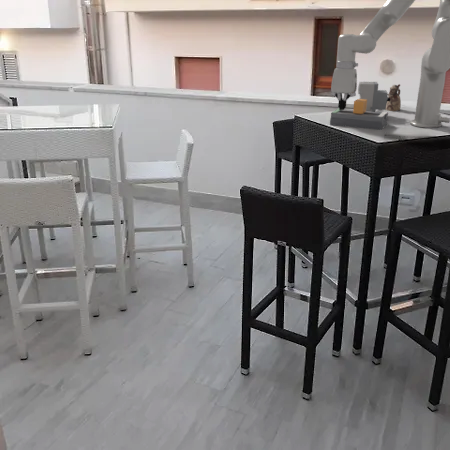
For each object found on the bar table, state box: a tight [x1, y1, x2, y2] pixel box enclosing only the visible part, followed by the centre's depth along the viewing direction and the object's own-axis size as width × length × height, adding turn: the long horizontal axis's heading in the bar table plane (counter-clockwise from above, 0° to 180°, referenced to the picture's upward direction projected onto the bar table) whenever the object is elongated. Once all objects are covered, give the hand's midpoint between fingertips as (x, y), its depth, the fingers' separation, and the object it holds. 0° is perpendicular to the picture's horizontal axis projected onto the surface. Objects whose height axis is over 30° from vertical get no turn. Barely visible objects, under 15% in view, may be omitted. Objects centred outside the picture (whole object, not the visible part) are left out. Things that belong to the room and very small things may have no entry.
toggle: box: [352, 98, 367, 114], centre depth 210 cm, size 4×6×7 cm, turn 151°
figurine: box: [385, 83, 402, 112], centre depth 238 cm, size 7×7×12 cm
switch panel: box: [329, 107, 389, 130], centre depth 211 cm, size 22×11×5 cm, turn 61°
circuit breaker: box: [357, 81, 390, 112], centre depth 225 cm, size 8×14×15 cm, turn 78°
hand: (341, 109), depth 213 cm, fingers closed
